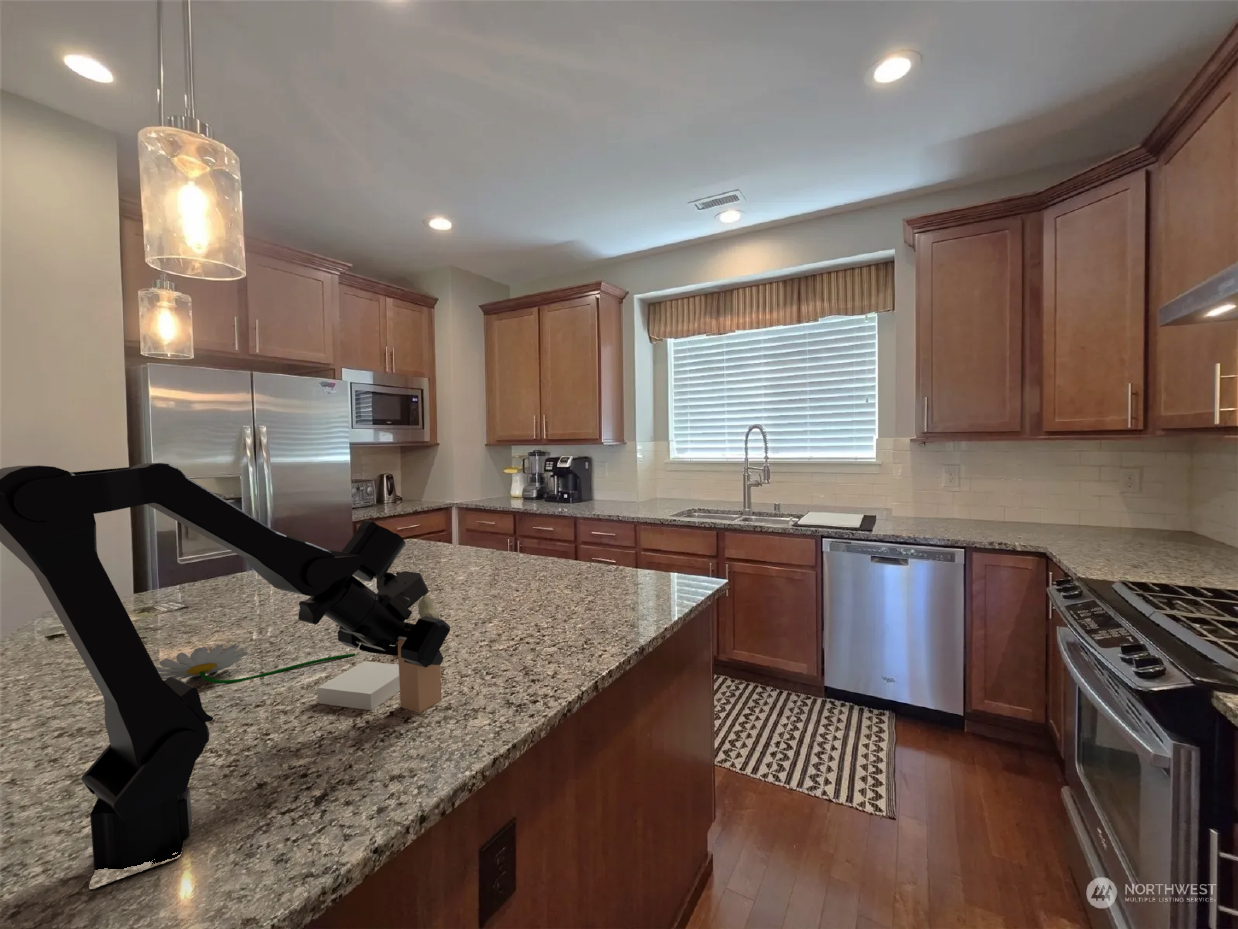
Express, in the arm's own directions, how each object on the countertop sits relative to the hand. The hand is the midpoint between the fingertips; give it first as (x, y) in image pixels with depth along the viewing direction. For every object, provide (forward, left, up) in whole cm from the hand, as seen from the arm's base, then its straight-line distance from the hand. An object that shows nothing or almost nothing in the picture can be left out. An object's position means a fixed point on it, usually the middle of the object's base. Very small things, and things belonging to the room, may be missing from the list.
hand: (426, 657), depth 81 cm
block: (-1, -1, -7) cm, 7 cm away
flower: (-22, +28, -7) cm, 36 cm away
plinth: (-7, +9, -7) cm, 13 cm away
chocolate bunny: (+6, +25, -7) cm, 26 cm away
